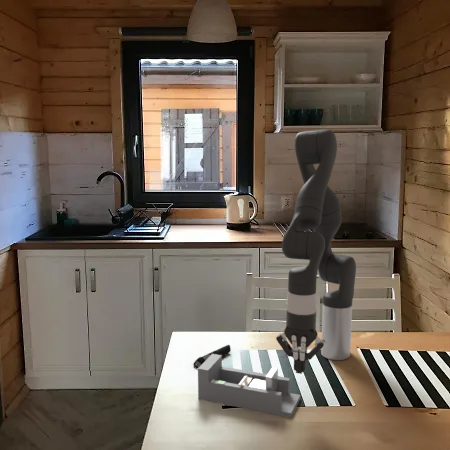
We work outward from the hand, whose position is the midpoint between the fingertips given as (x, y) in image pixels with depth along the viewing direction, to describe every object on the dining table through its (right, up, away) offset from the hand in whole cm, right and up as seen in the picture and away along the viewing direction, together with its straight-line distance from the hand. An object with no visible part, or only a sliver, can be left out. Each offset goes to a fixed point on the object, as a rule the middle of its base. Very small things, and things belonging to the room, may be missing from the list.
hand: (299, 372), depth 139 cm
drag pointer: (-14, -8, +6) cm, 17 cm away
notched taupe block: (-9, -8, +5) cm, 14 cm away
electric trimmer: (-23, -5, +31) cm, 40 cm away
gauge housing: (-13, -9, +7) cm, 17 cm away
